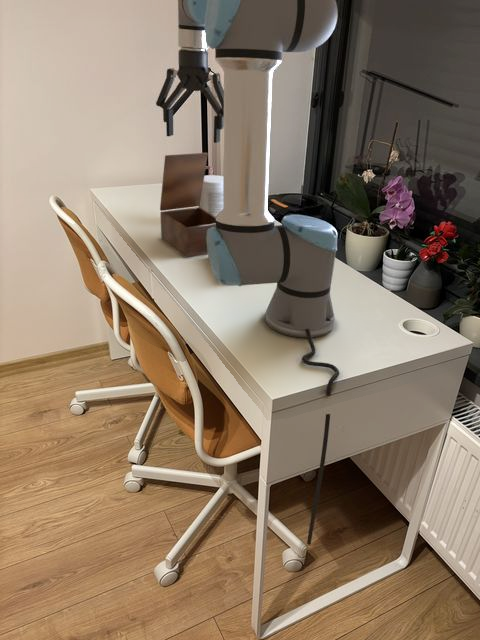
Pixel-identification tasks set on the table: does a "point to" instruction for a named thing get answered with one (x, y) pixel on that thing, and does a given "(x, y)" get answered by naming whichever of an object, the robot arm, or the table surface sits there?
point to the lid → (183, 180)
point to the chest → (187, 230)
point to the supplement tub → (212, 194)
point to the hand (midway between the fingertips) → (193, 138)
